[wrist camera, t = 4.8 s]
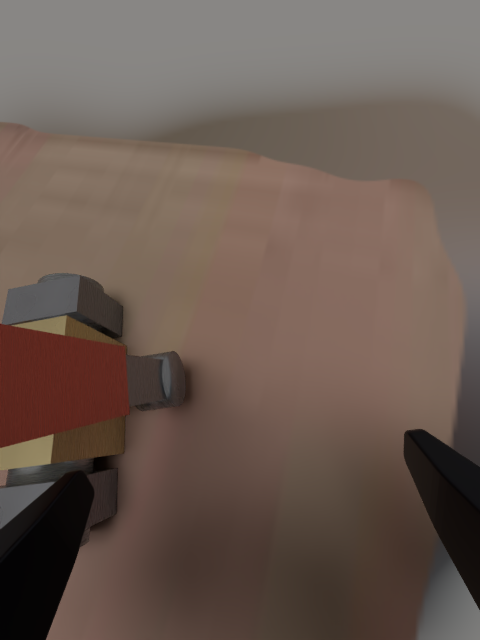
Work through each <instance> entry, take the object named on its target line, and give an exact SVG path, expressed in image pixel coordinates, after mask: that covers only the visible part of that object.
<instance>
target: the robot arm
mask: <svg viewBox="0 0 480 640" xmlns="http://www.w3.org/2000/svg"><path fill="white" fill-rule="evenodd" d="M404 458H405V462H406V464H407V466H408V469H409V471H410V473H411V476H412V478H413V480H414V482H415V485H416V487H417V489H418V492H419V494H420V496H421V499H422V501H423V503H424V505H425V508H426V510H427V512H428V515H429V517H430V519H431V521H432V523H433V526H434V528H435V530H436V531H437V533H438V535H439V537H440V539H441V541H442V543H443V544H444V546H445V548H446V550H447V552H448V554H449V555H450V557H451V559H452V561H453V563H454V564H455V566H456V568H457V570H458V571H459V574H460V575H461V577H462V579H463V580H464V583H465V584H466V586H467V588H468V590H469V592H470V594H471V595H472V597H473V599H474V601H475V603H476V604H477V606H478V608H479V610H480V467H479V466H478V465H476V464H475V463H473V462H472V461H470V460H469V459H467V458H466V457H464V456H462V455H461V454H460V453H458V452H457V451H455V450H454V449H452V448H451V447H449V446H448V445H446V444H445V443H443V442H442V441H440V440H439V439H437V438H436V437H434V436H433V435H431V434H430V433H428V432H427V431H425V430H423V429H415V430H407V431H406V432H405V434H404ZM94 494H95V491H94V487H93V485H92V484H91V482H90V480H89V479H88V477H87V475H86V474H85V472H84V471H82V470H77V471H70V472H67V473H66V474H64V475H63V476H62V477H61V478H60V479H58V480H57V481H56V482H55V483H54V484H53V485H51V486H50V487H49V488H48V489H47V490H46V491H44V492H43V493H42V494H41V495H40V496H39V497H37V498H36V499H35V500H34V501H33V502H32V503H30V504H29V505H28V506H27V507H26V508H25V509H23V510H22V511H21V512H20V513H19V514H17V515H16V516H15V517H14V518H13V519H12V520H10V521H9V522H8V523H7V524H6V525H5V526H3V527H2V528H1V529H0V640H46V638H47V635H48V633H49V630H50V627H51V625H52V622H53V619H54V617H55V614H56V611H57V609H58V606H59V603H60V601H61V598H62V595H63V593H64V590H65V587H66V585H67V582H68V579H69V577H70V574H71V572H72V569H73V566H74V563H75V560H76V558H77V554H78V551H79V548H80V545H81V541H82V538H83V534H84V531H85V527H86V524H87V520H88V517H89V513H90V510H91V506H92V503H93V500H94Z"/></svg>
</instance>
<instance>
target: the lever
mask: <svg viewBox="0 0 480 640" xmlns="http://www.w3.org/2000/svg"><path fill="white" fill-rule="evenodd" d="M185 391H186V381H185V373H184V368H183V364H182V361H181V359H180V357H179V355H178V354H177V353H176V352H174V351H171V352H165V353H159V354H153V355H147V356H141V357H139V356H131V355H126V351H125V346H120V345H114V344H109V343H103V342H98V341H92V340H87V339H81V338H76V337H71V336H65V335H60V334H54V333H49V332H43V331H38V330H32V329H27V328H21V327H16V326H10V325H5V324H0V448H3V447H7V446H11V445H14V444H18V443H22V442H26V441H30V440H33V439H37V438H41V437H45V436H49V435H52V434H56V433H60V432H64V431H68V430H71V429H75V428H79V427H83V426H87V425H90V424H94V423H98V422H102V421H106V420H110V419H113V418H117V417H121V416H125V415H129V414H130V410H129V407H130V406H136V407H137V408H138V409H139V410H141V411H148V410H155V409H161V408H168V407H175V406H180V405H181V404H182V403H183V401H184V398H185Z"/></svg>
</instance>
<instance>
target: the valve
mask: <svg viewBox="0 0 480 640" xmlns="http://www.w3.org/2000/svg"><path fill="white" fill-rule="evenodd" d="M122 312H123V306H122V305H120V304H119V303H118V302H116V301H115V300H113V299H112V298H111V297H109V296H108V295H107V294H105V293H104V288H103V287H102V285H101V284H99V283H98V282H97V281H95V280H93V279H91V278H88V277H85V276H81V275H77V274H69V273H55V274H49V275H46V276H43V277H42V278H40V279H39V280H38V283H37V284H33V285H28V286H23V287H18V288H13V289H9V290H8V295H7V300H6V305H5V310H4V315H3V320H2V324H5V325H10V326H16V327H21V328H27V329H32V330H38V331H43V332H49V333H54V334H60V335H65V336H71V337H76V338H81V339H87V340H92V341H98V342H103V343H109V344H114V345H120V346H125V351H126V353H127V346H126V345H124V344H122V343H120V342H118V341H116V340H114V339H112V338H115V337H121V336H122ZM124 435H125V416H121V417H117V418H113V419H110V420H106V421H102V422H98V423H94V424H90V425H87V426H83V427H79V428H75V429H71V430H68V431H64V432H60V433H56V434H52V435H49V436H45V437H41V438H37V439H33V440H30V441H26V442H22V443H18V444H14V445H11V446H7V447H3V448H0V470H7V469H8V475H7V481H6V485H4V486H0V529H1V528H2V527H3V526H5V525H6V524H7V523H8V522H9V521H10V520H12V519H13V518H14V517H15V516H16V515H17V514H19V513H20V512H21V511H22V510H23V509H25V508H26V507H27V506H28V505H29V504H30V503H32V502H33V501H34V500H35V499H36V498H37V497H39V496H40V495H41V494H42V493H43V492H44V491H46V490H47V489H48V488H49V487H50V486H51V485H53V484H54V483H55V482H56V481H57V480H58V479H60V478H61V477H62V476H63V475H64V474H66V473H67V472H70V471H77V470H82V471H84V472H85V474H86V475H87V477H88V479H89V480H90V482H91V484H92V485H93V487H94V491H95V494H94V500H93V503H92V506H91V510H90V513H89V517H88V520H87V524H86V527H85V531H84V534H83V538H82V541H81V545H80V547H81V546H83V545H85V544H86V543H87V542H88V541H89V536H90V526H92V525H94V524H96V523H99V522H101V521H103V520H105V519H107V518H109V517H111V516H113V515H115V514H116V503H117V471H118V468H115V469H108V470H100V471H93V468H94V457H101V456H108V455H115V454H122V453H124Z"/></svg>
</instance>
